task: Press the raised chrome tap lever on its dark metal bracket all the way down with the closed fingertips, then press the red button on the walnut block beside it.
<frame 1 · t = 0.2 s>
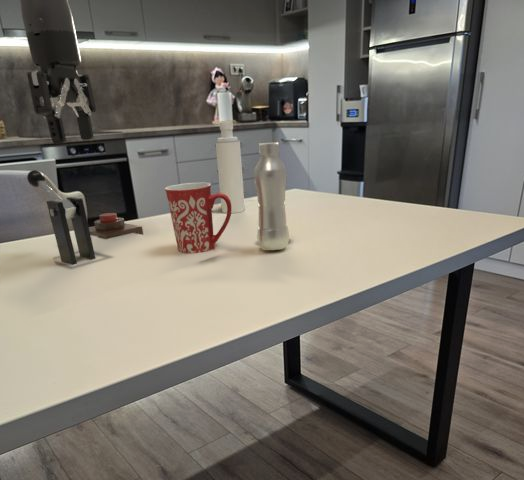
hand: (74, 141, 84), 23 cm above the table, tool pointing down, fingers open, 8 cm apart
mug: (204, 255, 98), on the table
button block: (112, 236, 117), on the table
button: (108, 218, 115), point 4 cm above the table, slide at 0.1 cm
tap lever: (50, 193, 92), point 14 cm above the table, hinge at 28.0°
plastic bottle: (273, 250, 98), on the table
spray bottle: (233, 211, 138), on the table
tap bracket: (80, 266, 95), on the table
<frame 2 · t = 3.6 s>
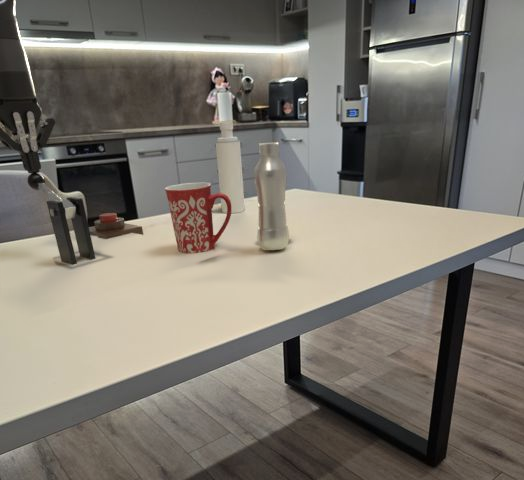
hand: (33, 172, 94), 17 cm above the table, tool pointing down, fingers closed
tap lever: (50, 195, 93), point 13 cm above the table, hinge at 25.0°, touching gripper
everything else where it was.
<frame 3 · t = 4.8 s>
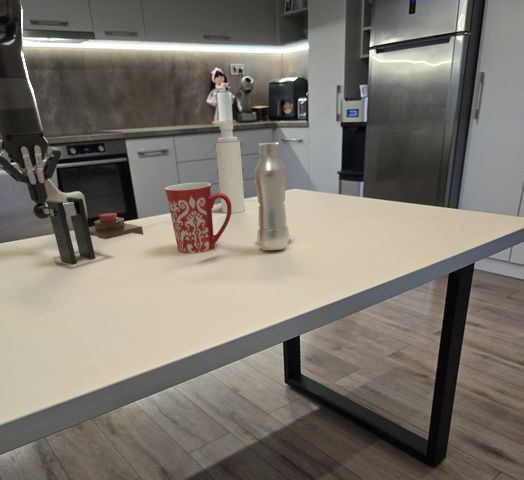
hand: (40, 202, 97), 11 cm above the table, tool pointing down, fingers closed
tap lever: (53, 210, 94), point 10 cm above the table, hinge at -6.1°, touching gripper
everything else where it was.
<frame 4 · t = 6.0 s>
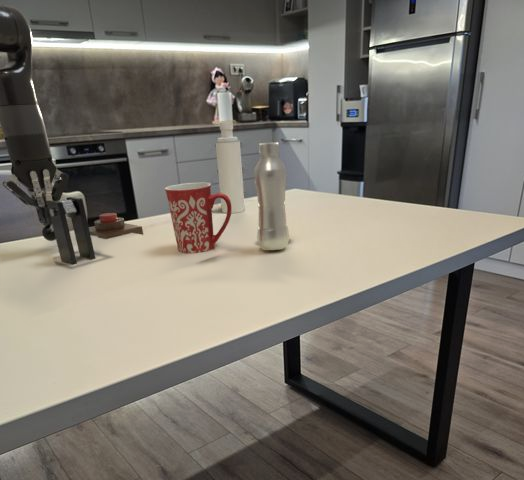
hand: (48, 225, 98), 7 cm above the table, tool pointing down, fingers closed
tap lever: (58, 222, 95), point 8 cm above the table, hinge at -29.8°, touching gripper
everything else where it was.
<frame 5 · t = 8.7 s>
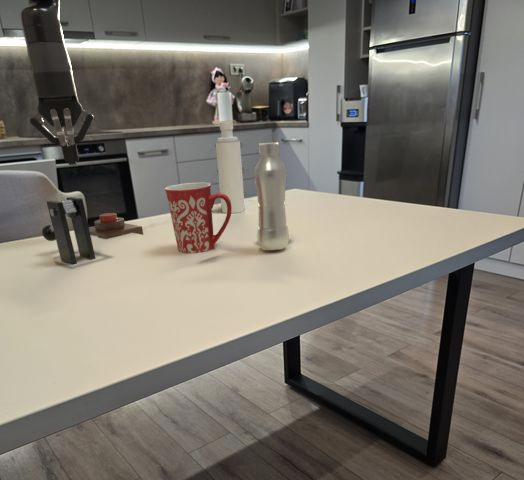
hand: (72, 164, 103), 18 cm above the table, tool pointing down, fingers closed
tap lever: (58, 222, 95), point 8 cm above the table, hinge at -29.8°
everything else where it was.
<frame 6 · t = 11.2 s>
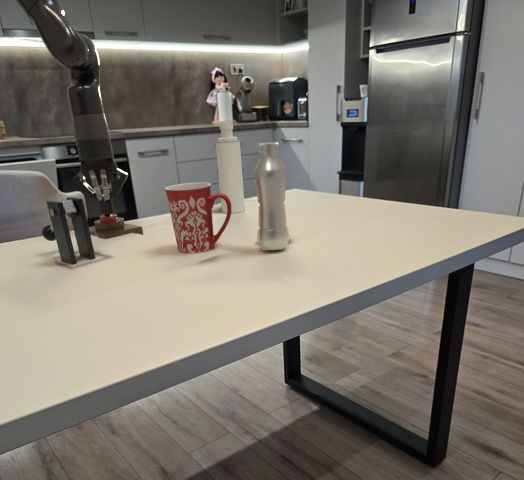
hand: (108, 215, 115), 5 cm above the table, tool pointing down, fingers closed
button: (108, 219, 116), point 4 cm above the table, slide at -0.1 cm, touching gripper
everything else where it was.
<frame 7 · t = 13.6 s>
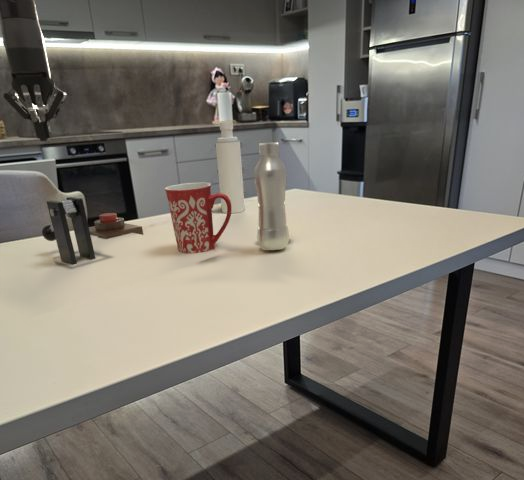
hand: (45, 140, 105), 22 cm above the table, tool pointing down, fingers closed
button: (108, 218, 115), point 4 cm above the table, slide at 0.1 cm
everything else where it was.
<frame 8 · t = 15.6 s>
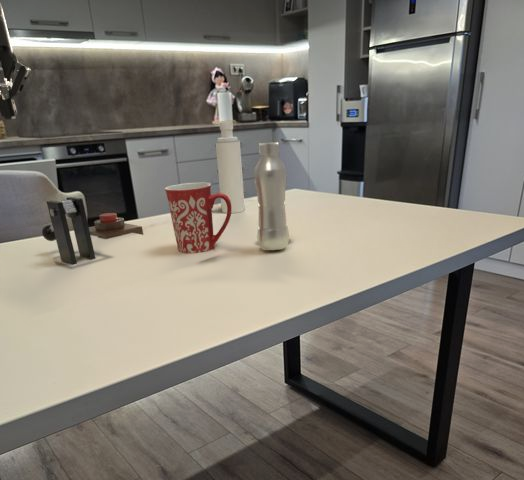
hand: (10, 119, 101), 27 cm above the table, tool pointing down, fingers closed
nothing on the table moved.
at the end: tap lever at -30° (first picture: +28°); button pushed in 1.1 cm at the most during the clip, back to where it started at the end; button slide at 0.1 cm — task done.
